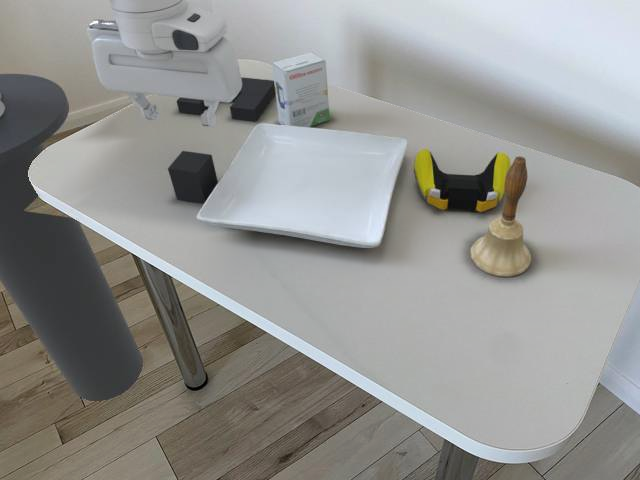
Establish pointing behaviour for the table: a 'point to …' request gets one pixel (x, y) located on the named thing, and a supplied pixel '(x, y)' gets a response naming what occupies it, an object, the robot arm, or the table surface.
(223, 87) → the robot arm
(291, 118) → the ink box
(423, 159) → the gaming controller
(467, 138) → the table surface
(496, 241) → the hand bell
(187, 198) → the black block
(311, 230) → the square plate
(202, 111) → the base pad
